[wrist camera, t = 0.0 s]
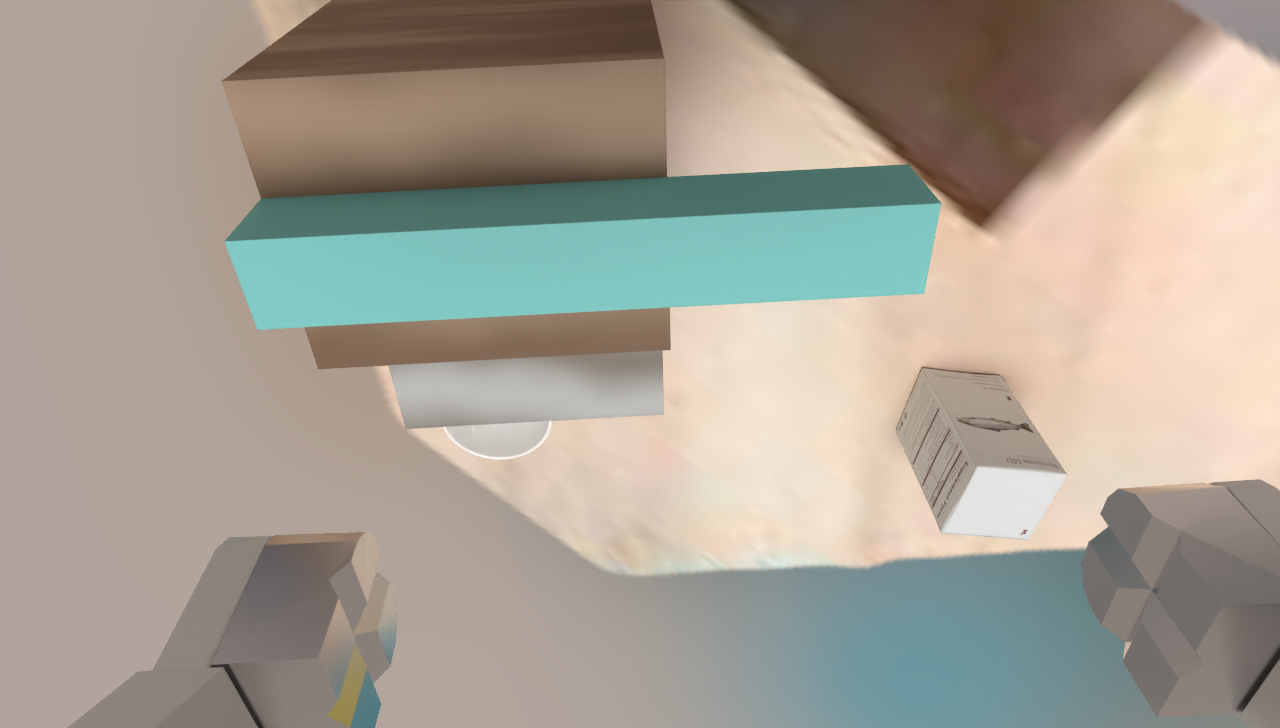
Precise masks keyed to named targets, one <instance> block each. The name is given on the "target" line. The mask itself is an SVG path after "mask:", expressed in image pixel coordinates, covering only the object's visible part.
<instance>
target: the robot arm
mask: <svg viewBox="0 0 1280 728" xmlns="http://www.w3.org/2000/svg"><path fill="white" fill-rule="evenodd" d="M1101 516H1102V517H1103V519H1104V520H1105V522H1106V524H1107V525H1108V528H1106V529H1105V530H1104V531H1102V532H1101V533H1100V534H1098V535H1097V536H1096V537H1094V538H1093V539H1092V540H1091V541H1089V543H1088V546H1087V549H1086V551H1085V554H1084V557H1083V560H1082V578H1083V588H1084V590H1085V593H1086V596H1087V599H1088V602H1089V605H1090V607H1091V609H1092V610H1093V612H1094V613H1095V615H1096V617H1097V619H1098V620H1099V622H1100V624H1101V625H1102V626H1103V627H1105V628H1106V629H1108V630H1109V631H1111V632H1112V633H1114V634H1115V635H1117V636H1118V637H1119V638H1121V639H1123V640H1124V641H1125V642H1126V643H1125V650H1124V655H1123V662H1124V664H1125V665H1126V667H1127V669H1128V670H1129V672H1130V674H1131V675H1132V677H1133V678H1134V680H1135V682H1136V683H1137V685H1138V687H1139V688H1140V690H1141V691H1142V693H1143V695H1144V696H1145V698H1146V700H1147V701H1148V703H1149V705H1150V706H1151V708H1152V709H1153V711H1154V712H1155V714H1156V716H1157V717H1164V716H1197V715H1229V714H1241V715H1240V716H1239V718H1238V719H1239V720H1241V721H1242V722H1243V723H1245V724H1246V725H1247V726H1248V727H1249V728H1280V491H1279V490H1278V489H1277V488H1275V487H1274V486H1272V485H1270V484H1268V483H1266V482H1264V481H1262V480H1245V481H1229V482H1214V483H1209V484H1206V483H1195V484H1180V485H1166V486H1151V487H1136V488H1121V489H1117V490H1116V491H1115V492H1114V493H1112V494H1111V495H1110V496H1109V497H1108V498H1107V500H1106V502H1105V505H1104V507H1103V509H1102V511H1101ZM380 556H381V554H380V551H379V549H378V546H377V543H376V541H375V538H374V536H373V534H370V533H366V532H361V533H360V532H358V533H326V534H296V535H295V534H294V535H275V536H257V537H230V538H228V539H227V540H226V541H224V542H223V543H222V544H221V545H220V546H219V547H218V548H217V549H216V550H215V552H214V554H213V556H212V558H211V560H210V562H209V564H208V565H207V567H206V569H205V571H204V573H203V575H202V577H201V579H200V581H199V583H198V584H197V586H196V588H195V590H194V592H193V594H192V596H191V598H190V600H189V602H188V604H187V606H186V607H185V610H184V611H183V613H182V615H181V617H180V619H179V621H178V623H177V625H176V627H175V629H174V630H173V632H172V635H171V636H170V638H169V640H168V642H167V644H166V646H165V648H164V650H163V652H162V654H161V656H160V657H159V659H158V661H157V663H156V665H155V667H154V669H153V670H152V671H141V672H137V673H135V674H134V675H133V676H132V677H130V678H129V679H128V680H127V681H126V682H124V683H123V684H122V685H120V686H119V687H118V688H117V689H116V690H114V691H113V692H112V693H111V694H109V695H108V696H107V697H106V698H104V699H103V700H102V701H100V702H99V703H98V704H97V705H95V706H94V707H93V708H92V709H90V710H89V711H88V712H87V713H85V714H84V715H83V716H82V717H80V718H79V719H78V720H77V721H75V723H73V724H72V725H70V726H69V727H68V728H375V725H376V721H377V717H378V714H379V709H380V706H381V703H380V700H379V697H378V695H377V692H376V689H375V687H374V684H373V683H374V682H375V681H376V680H377V679H378V678H379V677H380V676H381V675H382V674H383V673H384V672H385V671H386V670H387V669H388V668H389V667H390V664H391V660H392V656H393V652H394V647H395V643H396V627H397V611H396V603H395V596H394V593H393V590H392V587H391V583H390V581H388V580H387V579H385V578H384V577H382V576H381V575H380V574H378V573H377V572H376V570H377V567H378V563H379V560H380Z"/></svg>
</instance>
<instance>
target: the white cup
mask: <svg viewBox="0 0 1280 728" xmlns="http://www.w3.org/2000/svg"><path fill="white" fill-rule="evenodd" d="M551 427H552V421H540V422H522V423H504V424H485V425H467V426H449V427H443V429H444V431H445V432H446V434H447V435H448V437H449V438H450V439H451V440H452V441H453V442H454V443H455V444H456V445H457V446H459V447H460V448H462V449H463V450H465V451H467V452H469V453H471V454H473V455H476V456H479V457H483V458H488V459H498V460H502V459H512V458H517V457H520V456H523V455H526V454H528V453H530V452H532V451H534V450H535V449H536V448H538V447H539V446H540V445H541V444H542V443H543V442H544V441H545V440H546V438H547V437H548V435H549V433H550V430H551Z"/></svg>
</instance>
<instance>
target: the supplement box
mask: <svg viewBox="0 0 1280 728" xmlns="http://www.w3.org/2000/svg"><path fill="white" fill-rule="evenodd" d="M896 432H897V434H898V436H899V439H900V441H901V443H902V445H903V448H904V450H905V453H906V455H907V457H908V459H909V461H910V464H911V466H912V468H913V470H914V473H915V475H916V477H917V479H918V481H919V484H920V486H921V488H922V490H923V493H924V495H925V497H926V499H927V501H928V504H929V506H930V508H931V510H932V513H933V515H934V517H935V519H936V522H937V524H938V527H939V529H940V532H941V533H944V534H958V535H970V536H983V537H997V538H1010V539H1022V540H1028V539H1029V538H1030V536H1031V535H1032V533H1033V532H1034V530H1035V528H1036V527H1037V525H1038V524H1039V522H1040V520H1041V519H1042V517H1043V515H1044V514H1045V512H1046V510H1047V508H1048V507H1049V505H1050V504H1051V502H1052V500H1053V499H1054V497H1055V495H1056V494H1057V492H1058V490H1059V489H1060V487H1061V486H1062V484H1063V482H1064V480H1065V478H1066V476H1067V473H1066V472H1065V471H1064V469H1063V468H1062V466H1061V465H1060V463H1059V462H1058V460H1057V459H1056V457H1055V456H1054V454H1053V453H1052V452H1051V450H1050V449H1049V447H1048V446H1047V444H1046V443H1045V441H1044V440H1043V438H1042V437H1041V435H1040V434H1039V432H1038V431H1037V429H1036V428H1035V426H1034V425H1033V423H1032V422H1031V420H1030V419H1029V417H1028V416H1027V414H1026V413H1025V411H1024V410H1023V408H1022V407H1021V405H1020V404H1019V403H1018V401H1017V400H1016V398H1015V396H1014V395H1013V393H1012V392H1011V391H1010V389H1009V388H1008V386H1007V385H1006V383H1005V382H1004V380H1003V379H1002V377H1001V376H999V375H981V374H969V373H960V372H951V371H943V370H935V369H928V368H922V370H921V372H920V374H919V376H918V379H917V381H916V384H915V386H914V388H913V391H912V393H911V395H910V397H909V400H908V402H907V405H906V407H905V409H904V412H903V414H902V416H901V419H900V421H899V424H898V426H897V429H896Z"/></svg>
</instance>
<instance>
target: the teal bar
mask: <svg viewBox="0 0 1280 728" xmlns="http://www.w3.org/2000/svg"><path fill="white" fill-rule="evenodd" d="M940 207H941V202H940V201H939V200H938V199H937V198H936V196H935V195H934V194H933V193H932V192H931V191H930V189H929V188H928V187H927V186H926V185H925V183H924V182H923V181H922V180H921V179H920V177H919V176H918V175H917V174H916V173H915V171H914V170H913V169H912V168H911V167H910V165H909V164H908V165H889V166H870V167H851V168H832V169H813V170H795V171H776V172H757V173H738V174H719V175H700V176H681V177H662V178H643V179H624V180H605V181H586V182H568V183H549V184H530V185H511V186H492V187H473V188H454V189H435V190H416V191H397V192H378V193H359V194H340V195H322V196H303V197H284V198H265V199H260V201H259V202H258V203H257V204H256V205H255V207H254V208H253V209H252V210H251V211H250V212H249V213H248V215H247V216H246V217H245V218H244V219H243V220H242V222H241V223H240V224H239V225H238V226H237V227H236V229H235V230H234V231H233V232H232V233H231V234H230V236H229V237H228V238H227V239H226V240H225V244H226V247H227V250H228V252H229V255H230V258H231V260H232V263H233V265H234V268H235V271H236V273H237V276H238V279H239V281H240V284H241V287H242V289H243V292H244V295H245V297H246V300H247V303H248V305H249V308H250V311H251V313H252V316H253V319H254V321H255V324H256V326H257V329H258V330H259V329H260V330H261V329H279V328H298V327H316V326H335V325H353V324H372V323H390V322H408V321H427V320H445V319H464V318H482V317H501V316H519V315H538V314H556V313H575V312H593V311H612V310H630V309H649V308H667V307H686V306H704V305H723V304H741V303H760V302H778V301H797V300H815V299H834V298H852V297H871V296H889V295H908V294H924V291H925V286H926V280H927V275H928V270H929V265H930V259H931V254H932V249H933V244H934V238H935V233H936V228H937V223H938V218H939V212H940Z"/></svg>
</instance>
